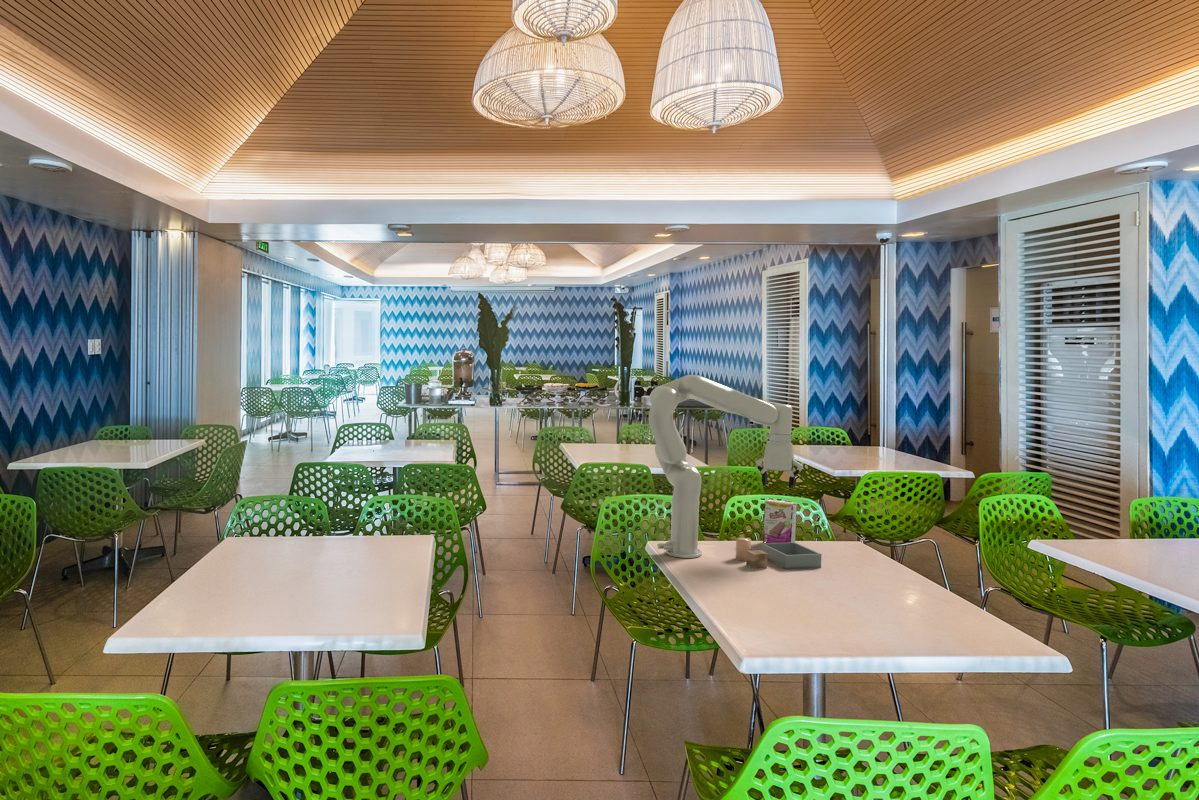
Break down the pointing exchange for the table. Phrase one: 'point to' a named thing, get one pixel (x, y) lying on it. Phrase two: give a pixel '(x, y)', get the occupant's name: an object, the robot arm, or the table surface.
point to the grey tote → (791, 555)
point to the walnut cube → (756, 559)
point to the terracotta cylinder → (742, 548)
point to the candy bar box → (779, 521)
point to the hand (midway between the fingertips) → (777, 486)
